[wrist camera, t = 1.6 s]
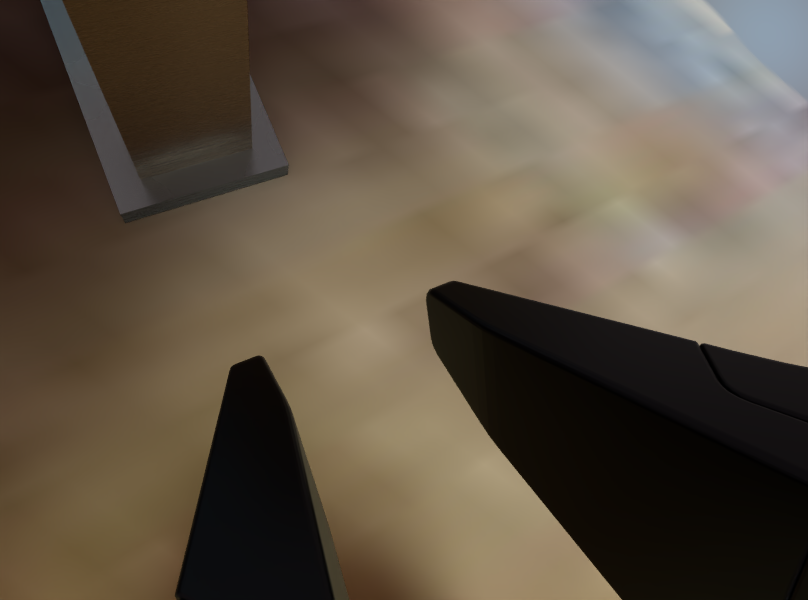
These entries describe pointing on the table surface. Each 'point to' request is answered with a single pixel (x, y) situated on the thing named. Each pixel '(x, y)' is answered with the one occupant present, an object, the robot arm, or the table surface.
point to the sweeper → (167, 98)
